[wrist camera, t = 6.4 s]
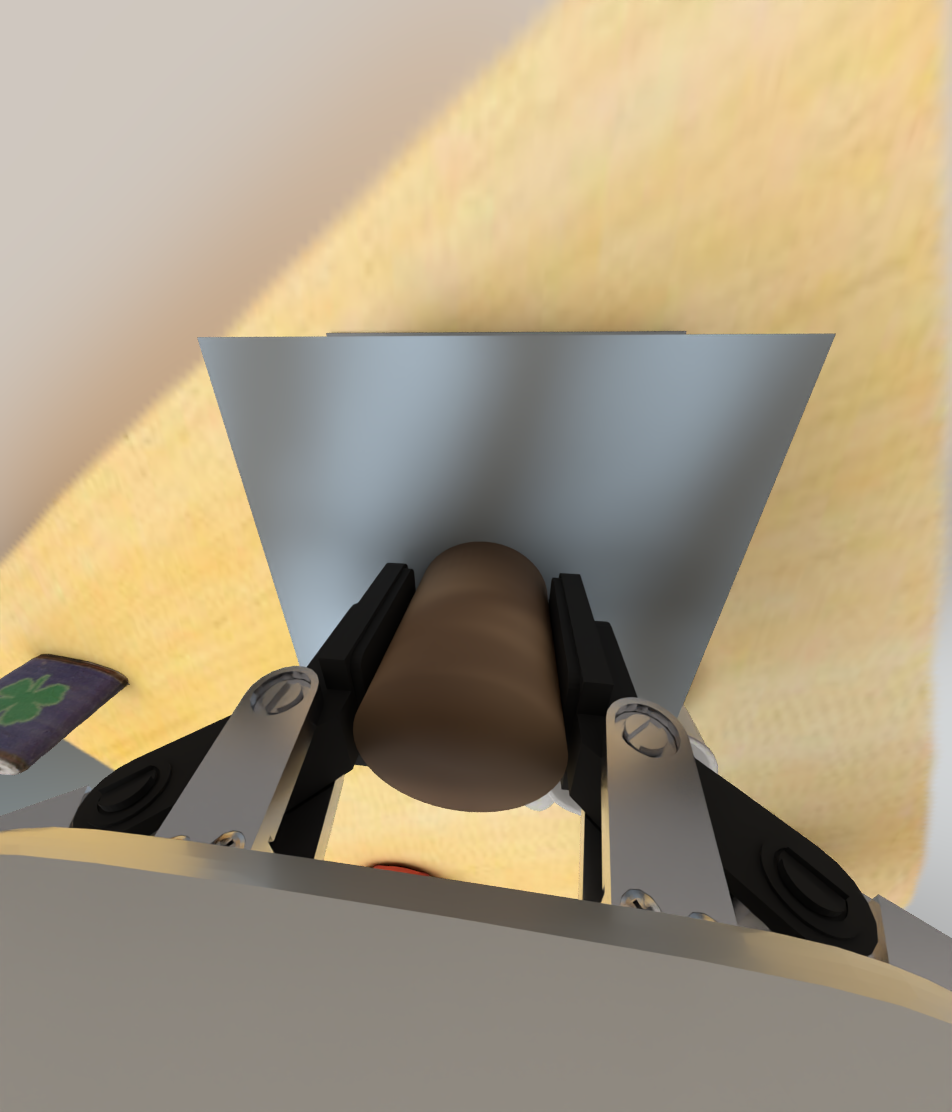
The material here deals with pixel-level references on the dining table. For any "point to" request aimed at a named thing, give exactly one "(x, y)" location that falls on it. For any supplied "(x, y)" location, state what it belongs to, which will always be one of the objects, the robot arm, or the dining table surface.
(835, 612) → the dining table surface
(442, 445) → the lid
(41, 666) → the flask
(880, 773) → the dining table surface
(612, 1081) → the robot arm
